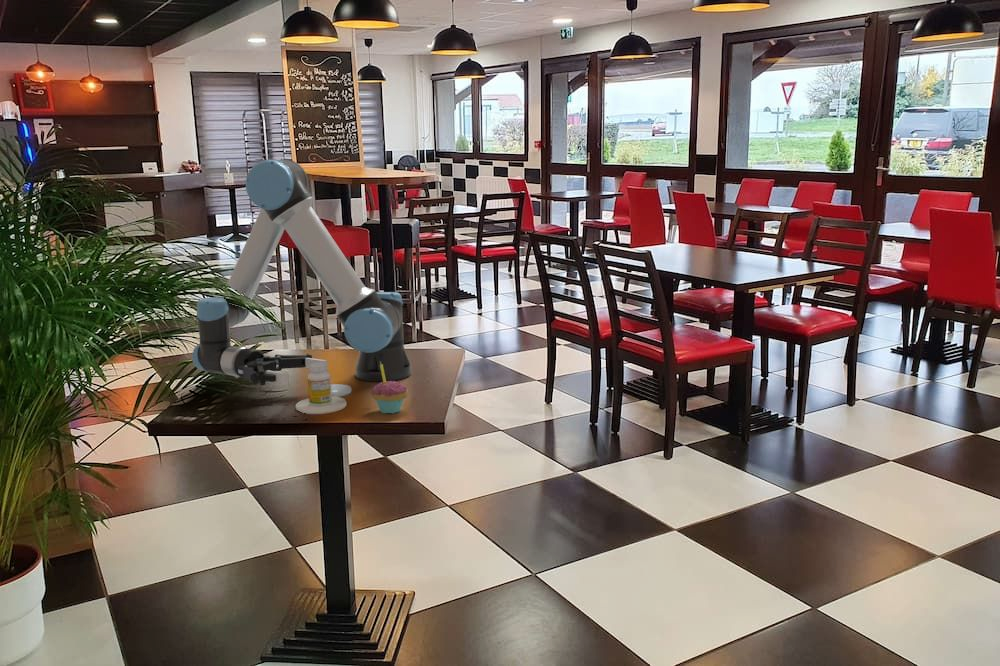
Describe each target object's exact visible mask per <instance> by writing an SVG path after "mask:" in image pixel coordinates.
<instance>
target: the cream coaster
mask: <svg viewBox="0 0 1000 666" xmlns="http://www.w3.org/2000/svg"><path fill="white" fill-rule="evenodd" d="M346 407H347V400H346V399H345V398H343V397H335V396H332V402H331V403H330V404H329V405H325V406H312V405H310V403H309V397H308V398H305V399H302V400H300V401H298V402H297V403H295V411H297V410H298V411H300V412H302V413H301V414H304V413H306V414H305V415H324V414H331V413H332V414H333V413H335V412H338V411H342V410H343V409H345V408H346ZM298 411H297V412H298ZM300 412H299V413H300Z"/></svg>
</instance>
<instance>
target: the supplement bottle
mask: <svg viewBox="0 0 1000 666" xmlns="http://www.w3.org/2000/svg"><path fill="white" fill-rule="evenodd" d="M327 367H328V363H327V364H326V363H322V362H320V363H313V364H310V369H309V371H310V373H308V375H307V389H308V390H307V391H308V398H309V403H310V405H312V406H325V405H329V404H330V403H331V402H332V393H331V384H332V378H331V374H330V372H329V371H326V370H327Z"/></svg>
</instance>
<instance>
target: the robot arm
mask: <svg viewBox="0 0 1000 666" xmlns="http://www.w3.org/2000/svg"><path fill="white" fill-rule="evenodd" d="M245 190H246V194H247V196H248V197H249V198H248V199H250V200H251V202H252V203H253V204H254V205H255V206H256V207H259V208H260V211H259V213H258V214H257V217H256V219H255V222H254V224H253V227H252V229H251V230H250V233H249V234H248V237H247V240H246V242H245V244H244V247H242V251H241V253H240V256H239V257H238V260H237V262H236V264H235V266H234V268H233V270H232V273H231V274H230V277H229V279H228V282H227V284H228V285H230V287H231V288H232V289H234V290H237V292H239V293H240V294H243V295H245V296H247V297H248V298H250V299H251V300H252V301H253V298H254V296H255V294H256V292H257V290H258V287H259V286H260V283H261V282H262V279H263V277H264V276H265V275H264V274H265V272H266V270H267V268H268V266H269V263H270V262H271V260H272V258H273V256H274V253H275V251H276V249H277V247H278V244H279V242H280V240H281V239H282V236H283V234H284V231H285V232H286V233H287V234H288V236H289V238H290V239H291V240H292V241H293V243H294V245H295V246H296V248H297V249H298V251H299V253H300V254H301V255H302V257H303V258H304V259H305V261H306V262H307V264H308V265H309V267H310V269H312V272H313V273H314V274H315V276H316V277H317V278H318V280H319V281H320V283H321V284H322V287H324V289H325V290H326V292H327V294H328V295H329V297H331V299H332V300H333V302H334V303H335V305H336V312H335V316H336V317H337V319H338V320H339V322H340V323H341V325H342V326H343V333H344V338H345V340H346V341H347V343H348V344H349V345H350V346H351V347H352V348H353V349H355V350H356V351H358V352H359V355H358V358H357V363H356V365H355V376H356V378H357V379H359V380H363V381H365V382H366V381H368V382H383V378H382V373H381V368H380V365H381V364H383V369H384V374H385V379H386V382H387V381H398V380H401V379H405V378H407V376H408V377H410V376H411V374H412V365H411V362H410V359H409V356H408V354H407V351H406V349H405V345H404V317H403V315H404V314H403V305H404V302H403V301H402V300H403V299H402V294H400V293H399V292H396V291H388V292H387V291H376V290H375V289H374V288H370V287H366V285H365V284H364V282H363V281H362V280H361V278H360V277H359V275H358V274H357V272H356V271H355V270H354V267H352V265H351V263H350V262H349V261H348V259H347V258H346V256H345V254H344V253H343V252H342V250H341V248H340V247H339V246H338V244H337V243H336V241H335V239H333V237H332V235H331V234H330V232H329V230H328V229H327V227H326V226H325V225H324V222H323V221H322V220H321V219H320V217H319V216H318V214H317V213H316V212H315V210H314V208H313V200H314V197H313V196H312V194H311V192H310V191H309V178H308V175H307V172H306V171H305V169H304V168H303V167H302V166H301V165H300V164H299V163H297V162H295V160H291V159H286V158H282V159H281V158H280V159H277V158H276V159H275V158H269V159H264V160H261V161H259V162H257V163H256V164H255V165H253V166H252V167H251V169H250V170H249V171H248V173H247V175H246V179H245ZM244 293H245V294H244ZM221 297H222V296H221ZM221 297H219V296H217V297H215V296H214V297H211V296H210V297H205V298H201V299H199V300H198V301H197V302H196V317H197V325H198V333H199V334H198V336H199V343H198V344H197V345H196V346H195V347H194V348H193V352H192V354H191V359H192V360H191V361H192V364H193V365H194V367H196V369H198V370H200V371H204V372H207V373H211V374H220V375H226V376H232V377H234V378H235V379H239V378H243V379H246V380H247V381H248V382H250V383H251V384H253V385H256V384H258V383H260V384H259V385H260V386H266V383H270V384H271V383H272V384H276V385H282V386H288V385H290V378H289V377H290V376H289V375H290V374H289V373H288V372H281V371H282V370H284V369H298V368H299V369H300V368H305V369H306V370H310V364H313V363H320V362H322V363H326V364H327V365H328V360H326V359H319V358H313V355H312V354H309V353H307V354H292V355H291V354H274V356H270V355H268V356H267V355H266V356H265V355H264V354H263V352H262V351H260V349H256V348H255V349H254V348H247V347H241V346H234V345H231V340H232V339H231V329H232V327H235V326H236V325H238V324H241V323H242V322H244V321H245V320H246V319H247V318H248V316H249V315H250V312H251V310H250V311H248V310H246V309H243V308H242V307H239V306H235V305H232V304H229V303H228V302H227V301H226V299H224V298H221ZM380 362H381V364H380ZM328 367H329V366H327V370H326V371H327V372H329V371H328V369H329V368H328Z"/></svg>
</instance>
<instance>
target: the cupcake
mask: <svg viewBox="0 0 1000 666" xmlns="http://www.w3.org/2000/svg"><path fill="white" fill-rule="evenodd" d="M380 364H381V362H380ZM380 368H381V373H382V378H383V381H380V382H378V383H377V384H375V385H374V386H373V388H371V391H370V394H371V397H372V398H373V399H374V400H375V401H376V403H377V406H378V408H379V411H380V412H381V413H382V414H386V413H392V414H396V412H397V413H399V412H400V411H402V410H401V408H402V405H403V402H404V399H406V398H407V397H408V395H409V390H408V387H407V385H405V384H404V383H402V382H400V381H398V380H392V381H386V379H385V374H384V369H383V364H381V365H380Z"/></svg>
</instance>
